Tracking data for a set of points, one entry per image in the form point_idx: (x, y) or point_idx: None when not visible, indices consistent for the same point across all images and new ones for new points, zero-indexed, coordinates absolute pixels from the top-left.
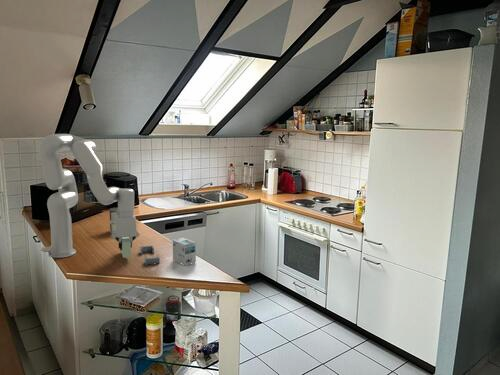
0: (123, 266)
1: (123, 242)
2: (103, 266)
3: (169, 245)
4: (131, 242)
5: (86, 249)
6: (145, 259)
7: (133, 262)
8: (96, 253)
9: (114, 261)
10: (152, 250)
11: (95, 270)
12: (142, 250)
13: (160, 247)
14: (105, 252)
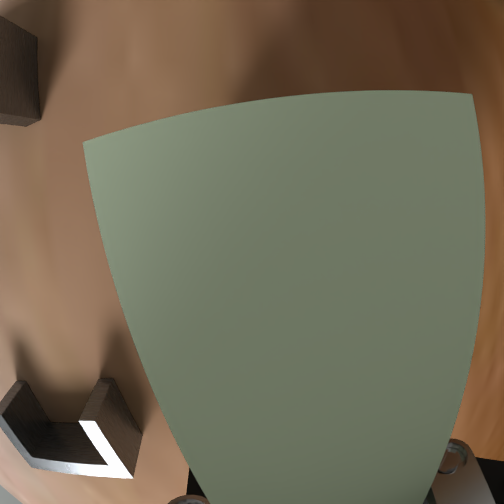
0: (279, 9)
1: (464, 314)
2: (467, 78)
3: (3, 475)
4: (195, 494)
5: (491, 442)
6: (4, 32)
7: None
8: (478, 401)
9: None
10: (12, 399)
11: (491, 19)
12: (85, 408)
13: (32, 470)
14: None
